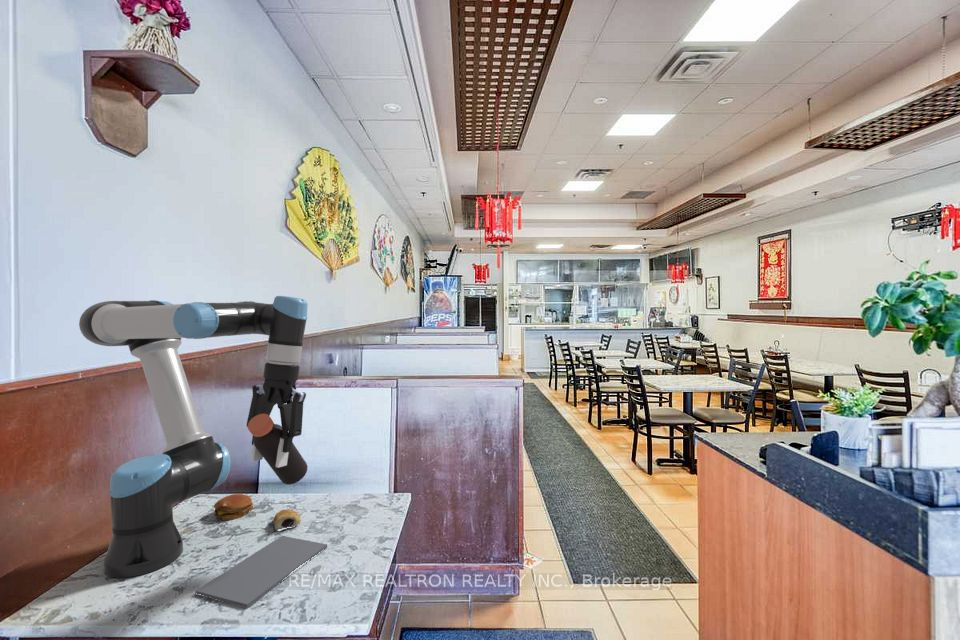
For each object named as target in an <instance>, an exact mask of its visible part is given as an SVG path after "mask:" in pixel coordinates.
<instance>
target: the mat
mask: <svg viewBox="0 0 960 640" xmlns="http://www.w3.org/2000/svg"><path fill="white" fill-rule="evenodd" d="M326 547H327V548H328V544H327V543H323V542H317V541H311V540H306V539H301V538H296V537H290V536H285V535H281V536H279V537H278V538H276V539H274V540H273V541H272V542H270V543H268V544H266V545H265V546H264V547H262V548H261V549H259V550H257V551H256V552H254V553H253V554H252V553H251V555H249V556H248V557H246V558H245V559H243V560H241V561H240V562H238V563H237V564H235V565H233V566H232V567H231V568H229V569H227V570H226V571H224V572H223V573H221V574H219V575H218V576H217V577H215V578H213V579H212V580H210V581H209V582H207V583H206V584H203V585H202V586H201V587H199V588H198V589H196V590H195V594H196V593H197V594H201V595H204V596H207V597H211V598H213V599H212V600H214V599H217V600H216V601H218V600H220V601H219V602H222V601H223V603H225V602H227V603H226V604H230V605H233V606H237V607H241V608H243V609H245V608H246V609H249V608H250V607H251V606H253V605H254V604H255V603H257V602H258V601H259V600H260V599H262V598H264V597H265V596H266V595H267V594H268V593H270V592H271V591H273V588H274V589H275V588H277V587H278V586H279V585H280V584H281V583H282V582H281V581H282V580H283V579H284V578H285V577H287V576H288V575H289V574H290V573H291V572H292V571H294V570H295V569H296V568H298V567H299V566H300V565H302V564H303V563H305V562H306V561H308V560H309V559H311V558H312V557H314V556H315V555H317V554H318V553H319V552H321V551H322V550H323V549H325V548H326ZM327 548H326V549H327ZM326 549H325V550H326ZM323 551H324V550H323ZM323 551H322V552H323ZM322 552H321V553H322ZM318 555H319V554H318ZM318 555H317V556H318ZM314 558H315V557H314ZM280 582H281V583H280ZM279 583H280V584H279ZM278 584H279V585H278ZM277 585H278V586H277ZM269 591H270V592H269ZM265 594H266V595H265ZM207 597H206V598H207Z"/></svg>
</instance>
